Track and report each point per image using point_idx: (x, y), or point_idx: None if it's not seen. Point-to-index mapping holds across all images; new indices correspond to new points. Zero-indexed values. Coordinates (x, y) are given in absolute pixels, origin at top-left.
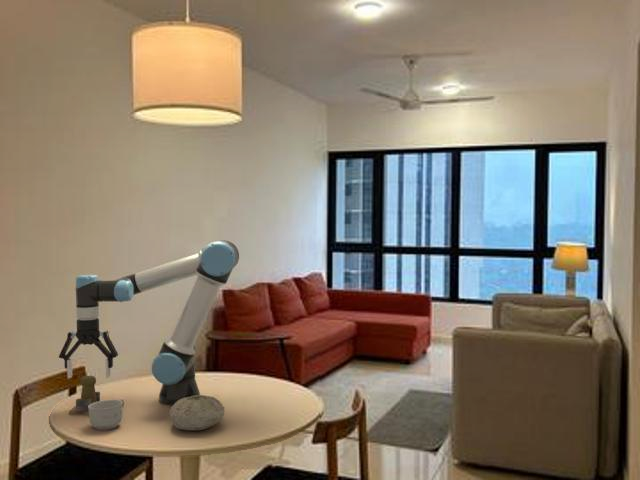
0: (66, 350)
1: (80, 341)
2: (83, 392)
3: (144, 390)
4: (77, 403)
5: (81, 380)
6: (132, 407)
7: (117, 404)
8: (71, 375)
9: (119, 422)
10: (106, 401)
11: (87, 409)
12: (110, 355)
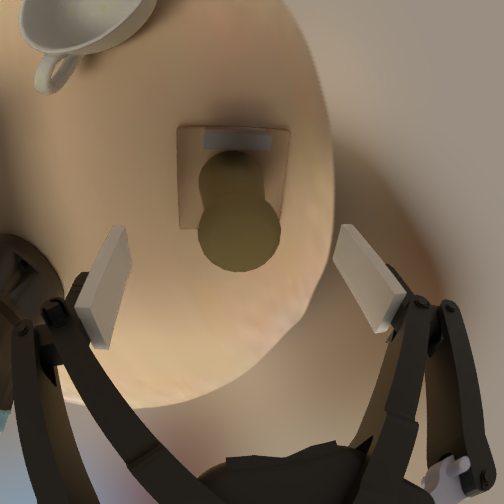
0: (433, 362)
1: (377, 465)
2: (250, 182)
3: (137, 343)
4: (261, 132)
5: (272, 213)
6: (91, 211)
7: (49, 46)
8: (338, 253)
9: (59, 7)
10: (89, 41)
11: (216, 127)
12: (54, 342)
